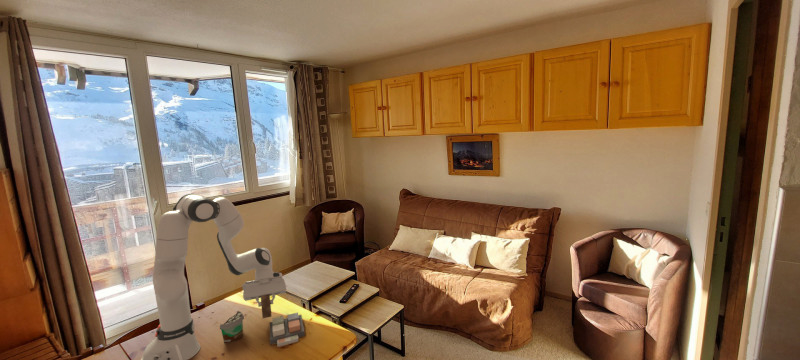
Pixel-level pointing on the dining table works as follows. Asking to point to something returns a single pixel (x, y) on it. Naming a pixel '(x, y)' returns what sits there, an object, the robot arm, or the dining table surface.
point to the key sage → (277, 320)
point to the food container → (233, 328)
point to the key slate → (293, 317)
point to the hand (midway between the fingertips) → (266, 305)
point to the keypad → (286, 334)
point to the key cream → (278, 330)
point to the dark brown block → (266, 306)
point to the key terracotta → (294, 326)
